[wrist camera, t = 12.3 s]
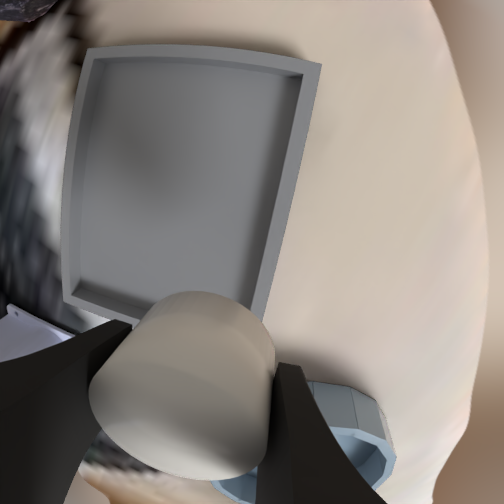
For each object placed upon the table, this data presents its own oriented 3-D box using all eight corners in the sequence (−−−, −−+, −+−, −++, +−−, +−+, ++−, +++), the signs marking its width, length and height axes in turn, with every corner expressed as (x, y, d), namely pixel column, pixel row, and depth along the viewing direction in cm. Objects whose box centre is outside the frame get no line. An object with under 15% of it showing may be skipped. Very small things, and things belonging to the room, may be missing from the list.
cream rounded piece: (143, 383, 10) (103, 449, 7) (140, 276, 9) (75, 334, 5) (260, 413, 10) (249, 491, 6) (289, 308, 8) (288, 392, 5)
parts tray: (81, 288, 19) (63, 301, 17) (107, 57, 14) (87, 48, 12) (255, 339, 18) (251, 361, 16) (317, 76, 13) (321, 64, 11)
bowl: (208, 465, 23) (199, 497, 20) (231, 364, 19) (219, 406, 15) (344, 483, 23) (346, 514, 19) (414, 393, 18) (430, 430, 15)
